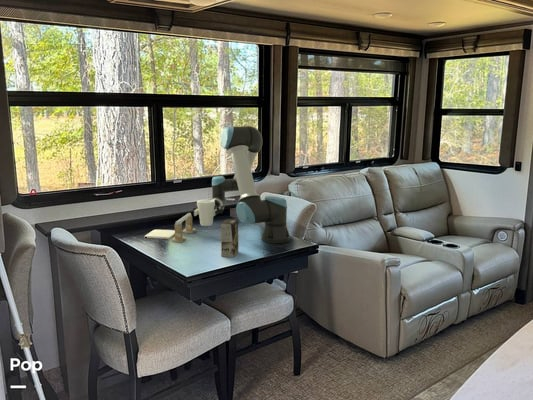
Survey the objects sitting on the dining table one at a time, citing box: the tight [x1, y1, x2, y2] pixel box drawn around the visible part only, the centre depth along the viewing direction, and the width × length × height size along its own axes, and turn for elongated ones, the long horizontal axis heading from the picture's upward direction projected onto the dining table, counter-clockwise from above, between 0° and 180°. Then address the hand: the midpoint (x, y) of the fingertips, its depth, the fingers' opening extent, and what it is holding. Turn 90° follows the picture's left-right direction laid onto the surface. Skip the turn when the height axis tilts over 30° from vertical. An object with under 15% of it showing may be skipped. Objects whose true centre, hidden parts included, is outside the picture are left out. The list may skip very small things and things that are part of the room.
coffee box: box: [220, 219, 239, 258], centre depth 218 cm, size 9×6×16 cm
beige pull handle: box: [171, 215, 196, 243], centre depth 250 cm, size 23×6×9 cm, turn 172°
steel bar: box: [174, 212, 192, 225], centre depth 249 cm, size 22×2×2 cm, turn 172°
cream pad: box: [144, 229, 175, 240], centre depth 253 cm, size 14×14×1 cm
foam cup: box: [196, 199, 215, 227], centre depth 247 cm, size 10×9×13 cm
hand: (203, 213), depth 243 cm, fingers closed on foam cup, 9 cm apart
